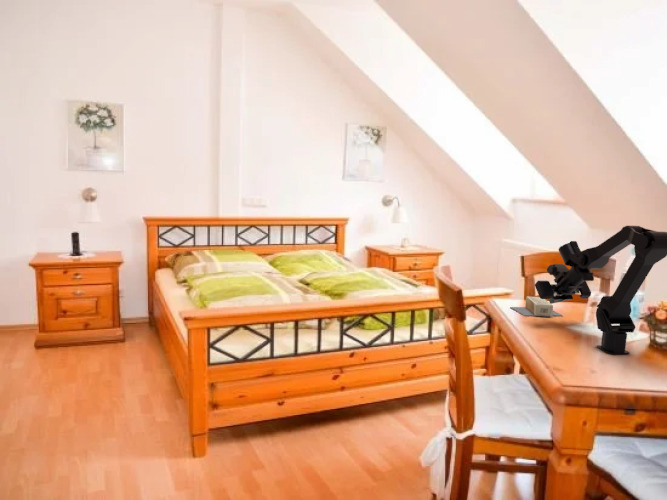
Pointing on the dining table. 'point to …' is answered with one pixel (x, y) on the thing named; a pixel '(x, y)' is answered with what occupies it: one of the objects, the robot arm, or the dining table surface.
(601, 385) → the dining table surface
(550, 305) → the skincare box
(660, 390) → the dining table surface
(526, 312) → the felt mat
